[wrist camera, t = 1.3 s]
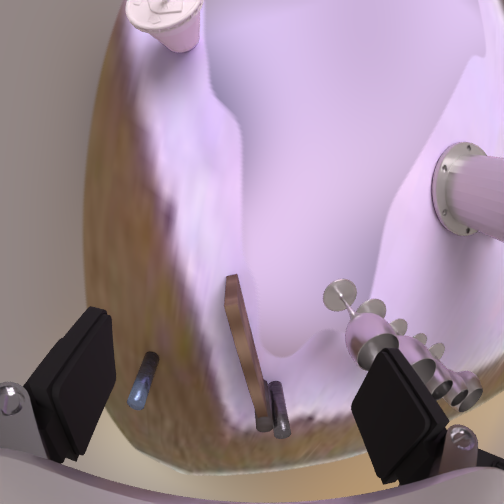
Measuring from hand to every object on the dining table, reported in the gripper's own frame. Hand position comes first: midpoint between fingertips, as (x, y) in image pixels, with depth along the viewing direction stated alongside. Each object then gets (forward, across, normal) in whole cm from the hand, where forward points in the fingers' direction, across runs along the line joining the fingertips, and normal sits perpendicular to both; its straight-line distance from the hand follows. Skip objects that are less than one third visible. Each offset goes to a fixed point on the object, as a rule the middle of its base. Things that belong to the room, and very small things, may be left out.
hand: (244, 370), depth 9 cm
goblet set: (+24, -24, +11) cm, 36 cm away
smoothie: (+23, +10, -19) cm, 32 cm away
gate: (+23, -4, +14) cm, 27 cm away
